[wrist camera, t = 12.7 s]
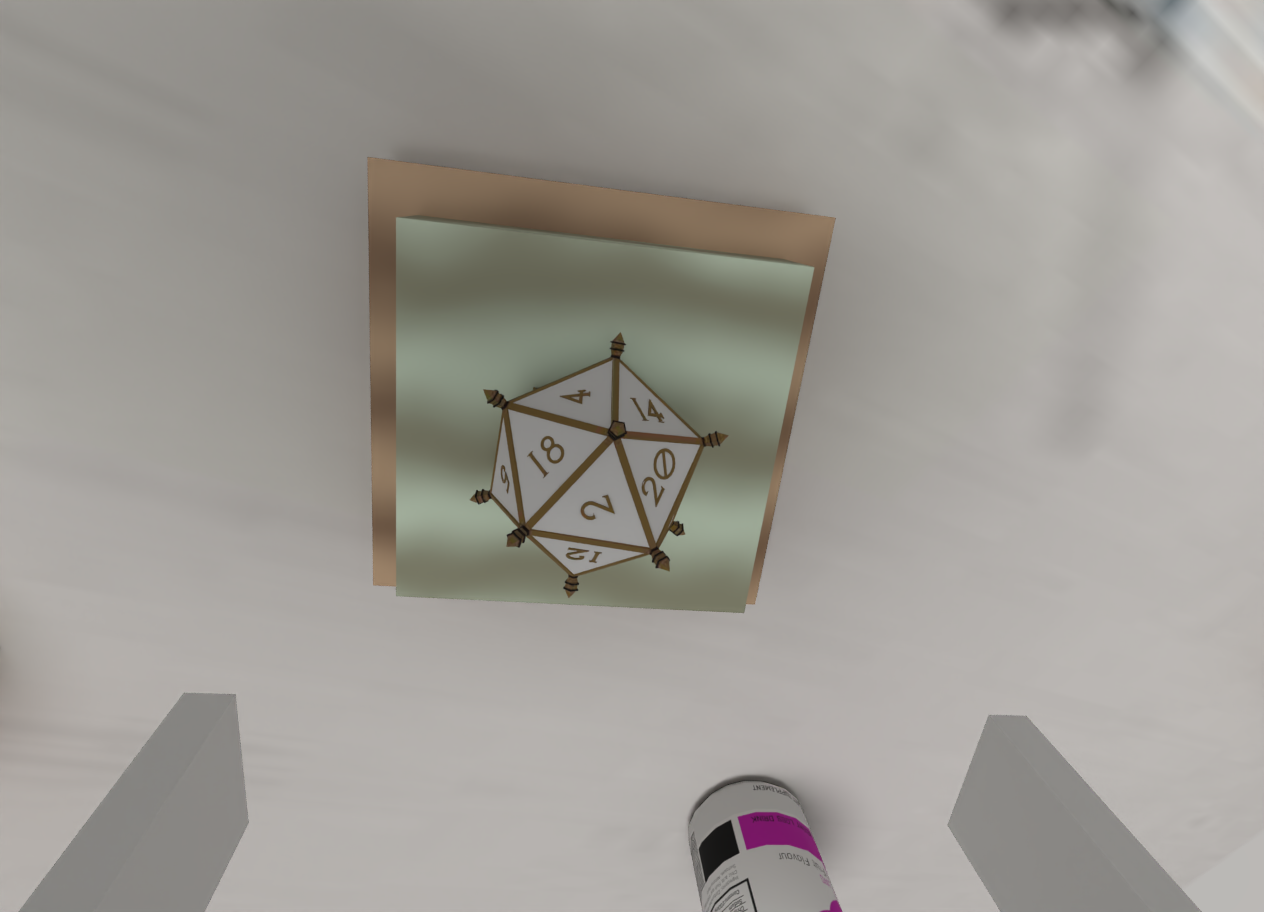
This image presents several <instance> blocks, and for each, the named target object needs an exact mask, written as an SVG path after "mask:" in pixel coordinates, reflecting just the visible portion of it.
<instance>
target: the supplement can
mask: <svg viewBox="0 0 1264 912" xmlns="http://www.w3.org/2000/svg"><path fill="white" fill-rule="evenodd" d="M688 830H689V845H690V850H691V855H692V860H693V866H694V871H695V876H696V881H697V886H698V891H699V896H700V901H701V906H702V911H703V912H842V909H841V907H840V904H839V902H838V899H837V897H836V894H835V892H834V889H833V886H832V884H831V881H830V879H829V876H828V874H827V871H826V869H825V866H824V864H823V861H822V858H821V856H820V853H819V851H818V848H817V846H816V843H815V841H814V838H813V836H812V833H811V830H810V828H809V825H808V823H807V820H806V818H805V815H804V813H803V810H802V808H801V806H800V804H799V802H798V800H797V798H795V797H794V796H793V795H792V794H791V793H789V792H788V791H787V790H786V789H784V788H781V787H778V786H775V785H772V784H769V783H765V782H762V781H742V782H738V783H734V784H730V785H726V786H725V787H723V788H721V789H719V790H718V791H716V792H714V793H712V794H711V795H710V796H709V797H708V798H707V799H706V800H705V801H704V802H703V803H702V804H701V806H700V807H699V808H698V809H697V810H696V811H695V813H694V815H693V818H692V820H691V822H690V825H689V827H688Z"/></svg>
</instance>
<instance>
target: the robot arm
mask: <svg viewBox="0 0 1264 912" xmlns="http://www.w3.org/2000/svg"><path fill="white" fill-rule="evenodd" d="M248 823H249V821H248V811H247V801H246V792H245V782H244V772H243V762H242V753H241V743H240V733H239V723H238V714H237V704H236V694H205V693H184V694H183V695H182V696H181V698H180V699H179V700H178V701H177V703H176V704H175V705H174V707H173V708H172V709H171V711H170V712H169V713H168V715H167V716H166V717H165V719H164V720H163V721H162V723H161V724H160V725H159V727H158V728H157V729H156V731H155V732H154V733H153V735H152V736H151V737H150V739H149V740H148V741H147V743H146V744H145V745H144V746H143V748H142V749H141V750H140V752H139V753H138V754H137V756H136V757H135V758H134V760H133V761H132V762H131V764H130V765H129V766H128V768H127V769H126V770H125V772H124V773H123V774H122V776H121V777H120V778H119V780H118V781H117V782H116V784H115V785H114V786H113V788H112V789H111V790H110V791H109V793H108V794H107V795H106V797H105V798H104V799H103V801H102V802H101V803H100V805H99V806H98V807H97V809H96V810H95V811H94V813H93V814H92V815H91V817H90V818H89V819H88V821H87V822H86V823H85V825H84V826H83V827H82V829H81V830H80V831H79V833H78V834H77V835H76V836H75V838H74V839H73V840H72V842H71V843H70V844H69V846H68V847H67V848H66V850H65V851H64V852H63V854H62V855H61V856H60V858H59V859H58V860H57V862H56V863H55V864H54V866H53V867H52V868H51V870H50V871H49V872H48V874H47V875H46V876H45V878H44V879H43V880H42V881H41V883H40V884H39V885H38V887H37V888H36V889H35V891H34V892H33V893H32V895H31V896H30V897H29V899H28V900H27V901H26V903H25V904H24V905H23V907H22V908H21V909H20V911H19V912H205V910H206V908H207V906H208V904H209V902H210V900H211V898H212V896H213V894H214V892H215V890H216V888H217V886H218V884H219V882H220V880H221V878H222V876H223V874H224V871H225V869H226V867H227V865H228V863H229V861H230V859H231V857H232V855H233V853H234V851H235V849H236V847H237V845H238V843H239V841H240V839H241V837H242V835H243V833H244V831H245V829H246V827H247V825H248ZM948 827H949V828H950V830H951V832H952V833H953V835H954V837H955V838H956V840H957V842H958V843H959V845H960V846H961V848H962V850H963V851H964V853H965V855H966V856H967V858H968V859H969V861H970V863H971V864H972V866H973V868H974V869H975V871H976V872H977V874H978V876H979V877H980V879H981V881H982V882H983V884H984V885H985V887H986V889H987V890H988V892H989V894H990V895H991V897H992V898H993V900H994V902H995V903H996V905H997V907H998V908H999V910H1000V911H1001V912H1201V911H1200V909H1199V908H1198V907H1197V906H1196V905H1195V904H1194V903H1193V901H1192V900H1191V899H1190V898H1189V897H1188V896H1187V895H1186V894H1185V893H1184V891H1183V890H1182V889H1181V888H1180V887H1179V886H1178V885H1177V884H1176V882H1175V881H1174V880H1173V879H1172V878H1171V877H1170V876H1169V875H1168V874H1167V872H1166V871H1165V870H1164V869H1163V868H1162V867H1161V866H1160V865H1159V863H1158V862H1157V861H1156V860H1155V859H1154V858H1153V857H1152V856H1151V855H1150V853H1149V852H1148V851H1147V850H1146V849H1145V848H1144V847H1143V846H1142V844H1141V843H1140V842H1139V841H1138V840H1137V839H1136V838H1135V837H1134V836H1133V834H1132V833H1131V832H1130V831H1129V830H1128V829H1127V828H1126V827H1125V825H1124V824H1123V823H1122V822H1121V821H1120V820H1119V819H1118V818H1117V817H1116V815H1115V814H1114V813H1113V812H1112V811H1111V810H1110V809H1109V808H1108V806H1107V805H1106V804H1105V803H1104V802H1103V801H1102V800H1101V799H1100V798H1099V796H1098V795H1097V794H1096V793H1095V792H1094V791H1093V790H1092V789H1091V788H1090V786H1089V785H1088V784H1087V783H1086V782H1085V781H1084V780H1083V779H1082V777H1081V776H1080V775H1079V774H1078V773H1077V772H1076V771H1075V770H1074V769H1073V767H1072V766H1071V765H1070V764H1069V763H1068V762H1067V761H1066V760H1065V758H1064V757H1063V756H1062V755H1061V754H1060V753H1059V752H1058V751H1057V750H1056V748H1055V747H1054V746H1053V745H1052V744H1051V743H1050V742H1049V741H1048V739H1047V738H1046V737H1045V736H1044V735H1043V734H1042V733H1041V732H1040V731H1039V729H1038V728H1037V727H1036V726H1035V725H1034V724H1033V723H1032V722H1031V720H1030V719H1029V718H1028V717H1027V716H1012V715H989V716H988V718H987V721H986V724H985V726H984V729H983V732H982V734H981V737H980V740H979V742H978V745H977V748H976V750H975V753H974V756H973V758H972V761H971V764H970V766H969V769H968V772H967V774H966V777H965V780H964V782H963V785H962V788H961V790H960V793H959V796H958V798H957V801H956V804H955V806H954V809H953V812H952V814H951V817H950V820H949V822H948Z"/></svg>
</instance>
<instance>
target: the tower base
mask: <svg viewBox="0 0 1264 912" xmlns="http://www.w3.org/2000/svg"><path fill="white" fill-rule="evenodd" d="M835 219H836V218H833V217H826V216H818V215H810V214H803V213H795V212H787V211H780V210H772V209H764V208H756V207H749V206H741V205H733V204H726V203H718V202H710V201H702V200H695V199H687V198H679V197H672V196H664V195H656V194H648V193H641V192H633V191H625V190H618V189H610V188H602V187H595V186H587V185H579V184H571V183H564V182H556V181H548V180H541V179H533V178H525V177H517V176H510V175H502V174H494V173H487V172H479V171H471V170H463V169H456V168H448V167H440V166H433V165H425V164H417V163H410V162H402V161H394V160H386V159H379V158H371V157H368V229H369V303H370V378H371V452H372V527H373V585H379V586H396V596H404V597H425V598H445V599H466V600H486V601H507V602H527V603H548V604H568V605H589V606H610V607H630V608H651V609H671V610H692V611H712V612H733V613H744V611H745V606H746V604H755V601H756V597H757V592H758V587H759V582H760V577H761V573H762V568H763V563H764V558H765V553H766V549H767V544H768V539H769V534H770V530H771V525H772V520H773V515H774V510H775V506H776V501H777V496H778V491H779V486H780V482H781V477H782V472H783V467H784V463H785V458H786V453H787V448H788V443H789V439H790V434H791V429H792V424H793V419H794V415H795V410H796V405H797V400H798V396H799V391H800V386H801V381H802V376H803V372H804V367H805V362H806V357H807V352H808V348H809V343H810V338H811V333H812V329H813V324H814V319H815V314H816V309H817V305H818V300H819V295H820V290H821V286H822V281H823V276H824V271H825V266H826V262H827V257H828V252H829V247H830V242H831V238H832V233H833V228H834V223H835ZM620 332H621V334H622V337H623V340H624V343H625V344H626V345H625V346H624V350H625V351H624V352H623V353H622V355H621V356H620V359H621V360H622V361H623V362H624V363H625V364H626V365H627V366H628V367H629V368H630V369H631V370H632V371H633V372H634V373H635V374H636V375H637V376H639V377H640V378H641V379H642V380H643V381H644V382H645V383H646V384H647V385H648V386H649V387H650V388H651V389H652V390H653V391H654V392H655V393H656V394H657V395H658V396H659V397H660V398H662V399H663V400H664V401H665V402H666V403H667V404H668V405H669V406H670V407H671V408H672V409H673V410H674V411H675V412H676V413H677V414H678V415H679V416H680V417H681V418H682V419H683V420H684V421H686V422H687V423H688V424H689V425H690V426H691V427H692V428H693V429H694V430H695V431H696V432H697V433H698V434H699V435H700V436H701V437H706V436H707V435H708V434H709V433H711V434H712V433H715V431H717V432H718V433H722V434H726V435H729V436H728V437H727V438H726V439H725V440H724V441H723V442H722V443H721V444H720V446H718V445H717V446H714V448H712V446H706V447H704V449H703V451H702V454H701V456H700V458H699V461H698V463H697V466H696V468H695V470H694V473H693V475H692V478H691V480H690V483H689V485H688V487H687V490H686V492H685V495H684V497H683V500H682V502H681V504H680V507H679V509H678V512H677V514H676V516H675V519H674V521H679V523H680V524H682V523H683V526H684V532H685V535H679V536H678V537H677V536H676V535H674V534H673V533H672V532H671V531H668V533H667V535H666V537H665V538H664V540H663V542H662V544H661V546H660V548H659V550H661V551H664V553H665V554H666V556H668V557H669V559H670V561H669V566H670V572H669V571H666V570H663V569H660V568H655V566H656V565H655V563H652V556H651V555H647V556H644V557H641V558H637V559H634V560H630V561H627V562H624V563H620V564H617V565H614V566H610V567H607V568H604V569H600V570H597V571H594V572H590V573H587V574H583V575H580V576H578V578H577V580H578V583H579V585H578V586H577V589H578V591H576V592H575V593H574V594H573V595H572V596H571V597H570V598H568V596H567V594H566V591H565V589H563V587H564V586H565V584H566V583H565V581H566V580H567V579H568V574H567V573H566V572H565V571H564V570H563V569H562V568H561V567H560V566H558V565H557V564H556V563H555V562H554V561H553V560H552V559H551V558H550V557H548V556H547V555H546V554H545V553H544V552H543V551H542V550H541V549H540V548H538V547H537V546H536V545H535V544H534V543H533V542H532V541H531V540H530V539H528V538H527V537H526V538H525V542H524V543H521V546H520V548H518V547H506V545H507V534H509V533H512V530H515V529H517V528H518V527H517V526H516V525H515V524H514V523H513V522H512V521H511V520H510V519H509V517H508V516H507V515H506V514H505V513H504V512H503V511H502V510H501V509H500V508H499V506H498V505H497V504H496V503H495V502H494V501H493V500H492V499H489V501H488V502H486V503H484V502H483V503H482V504H480V505H478V503H475V502H473V501H470V499H471V497H472V496H473V495H474V494H475V493H476V490H478V491H482V489H484V490H488V491H489V490H490V487H491V481H492V474H493V468H494V461H495V455H496V448H497V442H498V435H499V428H500V422H501V415H502V409H501V408H498V407H495V408H494V407H493V405H492V404H490V403H489V404H487V398H486V396H485V393H484V390H483V389H486V390H495V389H496V390H498V391H499V394H502V395H504V398H505V399H506V401H509V400H511V399H514V398H516V397H518V396H521V395H523V394H525V393H528V392H530V391H532V390H533V387H535V388H536V387H537V388H539V387H542V386H544V385H546V384H549V383H551V382H553V381H556V380H558V379H560V378H563V377H565V376H567V375H570V374H572V373H574V372H577V371H579V370H581V369H584V368H586V367H588V366H591V365H593V364H595V363H598V362H600V361H602V360H605V359H607V358H609V357H610V356H611V349H609V348H611V344H612V343H611V342H610V341H613V340H614V338H615V337H616V336H617V335H618V334H619V333H620Z"/></svg>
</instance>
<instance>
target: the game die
mask: <svg viewBox="0 0 1264 912" xmlns="http://www.w3.org/2000/svg"><path fill="white" fill-rule="evenodd" d="M610 342H611V343H612V344H611V348H609V349H611V356H610V357H609V358H607V359H605V360H602V361H600V362H598V363H595V364H593V365H591V366H588V367H586V368H584V369H581V370H579V371H577V372H574V373H572V374H570V375H567V376H565V377H563V378H560V379H558V380H556V381H553V382H551V383H549V384H546V385H544V386H542V387H539V388H537V387H536V388H535V387H533V390H532V391H530V392H528V393H525V394H523V395H521V396H518V397H516V398H514V399H511V400H509V401H506V399H505V398H504V395H502V394H499V391H498V390H496V389H495V390H486V389H483V390H484V393H485V396H486V398H487V404H489V403H490V404H492V405H493V407H494V408H495V407H498V408H501V409H502V415H501V422H500V428H499V435H498V442H497V448H496V455H495V461H494V468H493V474H492V481H491V487H490V490H489V491H488V490H484V489H482V491H478V490H476V493H475V494H474V495H473V496H472V497H471V499H470V501H473V502H475V503H478V505H480V504H482V503H483V502H484V503H486V502H488V501H489V499H492V500H493V501H494V502H495V503H496V504H497V505H498V506H499V508H500V509H501V510H502V511H503V512H504V513H505V514H506V515H507V516H508V517H509V519H510V520H511V521H512V522H513V523H514V524H515V525H516V526H517V527H518V528H517V529H515V530H512V533H509V534H507V545H506V547H518V548H520V546H521V543H524V542H525V538H526V537H527V538H528V539H530V540H531V541H532V542H533V543H534V544H535V545H536V546H537V547H538V548H540V549H541V550H542V551H543V552H544V553H545V554H546V555H547V556H548V557H550V558H551V559H552V560H553V561H554V562H555V563H556V564H557V565H558V566H560V567H561V568H562V569H563V570H564V571H565V572H566V573H567V574H568V579H567V580H566V581H565V583H566V584H565V586H564V587H563V589H565V591H566V594H567V596H568V598H570V597H571V596H572V595H573V594H574V593H575V592H576V591H578V589H577V586H578V585H579V583H578V580H577V578H578V576H580V575H583V574H587V573H590V572H594V571H597V570H600V569H604V568H607V567H610V566H614V565H617V564H620V563H624V562H627V561H630V560H634V559H637V558H641V557H644V556H647V555H651V556H652V563H655V565H656V566H655V568H660V569H663V570H666V571H669V572H670V566H669V561H670V559H669V557H668V556H666V554H665V553H664V551H661V550H659V548H660V546H661V544H662V542H663V540H664V538H665V537H666V535H667V533H668V531H671V532H672V533H673V534H674V535H676V536H677V537H678V536H679V535H685V532H684V526H683V523H682V524H680V523H679V521H674V519H675V516H676V514H677V512H678V509H679V507H680V504H681V502H682V500H683V497H684V495H685V492H686V490H687V487H688V485H689V483H690V480H691V478H692V475H693V473H694V470H695V468H696V466H697V463H698V461H699V458H700V456H701V454H702V451H703V449H704V447H706V446H712V448H714V446H717V445H718V446H720V444H721V443H722V442H723V441H724V440H725V439H726V438H727V437H728V436H729V435H726V434H722V433H718V432H717V431H715V433H712V434H711V433H709V434H708V435H707V436H706V437H701V436H700V435H699V434H698V433H697V432H696V431H695V430H694V429H693V428H692V427H691V426H690V425H689V424H688V423H687V422H686V421H684V420H683V419H682V418H681V417H680V416H679V415H678V414H677V413H676V412H675V411H674V410H673V409H672V408H671V407H670V406H669V405H668V404H667V403H666V402H665V401H664V400H663V399H662V398H660V397H659V396H658V395H657V394H656V393H655V392H654V391H653V390H652V389H651V388H650V387H649V386H648V385H647V384H646V383H645V382H644V381H643V380H642V379H641V378H640V377H639V376H637V375H636V374H635V373H634V372H633V371H632V370H631V369H630V368H629V367H628V366H627V365H626V364H625V363H624V362H623V361H622V360H621V359H620V356H621V355H622V353H623V352H624V351H625V350H624V346H625V345H626V344H625V343H624V340H623V337H622V334H621V332H620V333H619V334H618V335H617V336H616V337H615V338H614V340H613V341H610Z"/></svg>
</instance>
